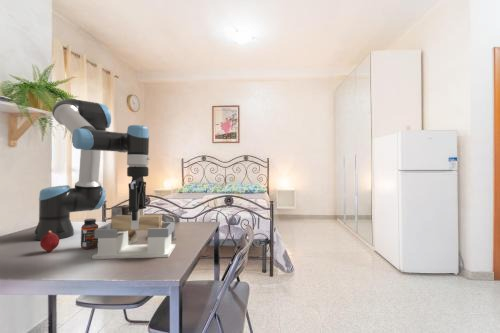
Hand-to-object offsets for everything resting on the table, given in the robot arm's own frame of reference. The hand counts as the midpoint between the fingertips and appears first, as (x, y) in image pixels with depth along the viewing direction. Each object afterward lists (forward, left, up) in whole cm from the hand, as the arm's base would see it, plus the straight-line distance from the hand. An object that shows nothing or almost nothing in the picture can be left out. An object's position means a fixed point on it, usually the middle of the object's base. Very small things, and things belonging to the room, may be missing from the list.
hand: (137, 227), depth 103 cm
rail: (0, 0, -1) cm, 1 cm away
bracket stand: (0, 0, -9) cm, 9 cm away
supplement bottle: (-8, -21, -10) cm, 25 cm away
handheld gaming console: (-21, +4, -10) cm, 24 cm away
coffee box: (-12, -9, -10) cm, 18 cm away
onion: (-3, -33, -10) cm, 35 cm away
